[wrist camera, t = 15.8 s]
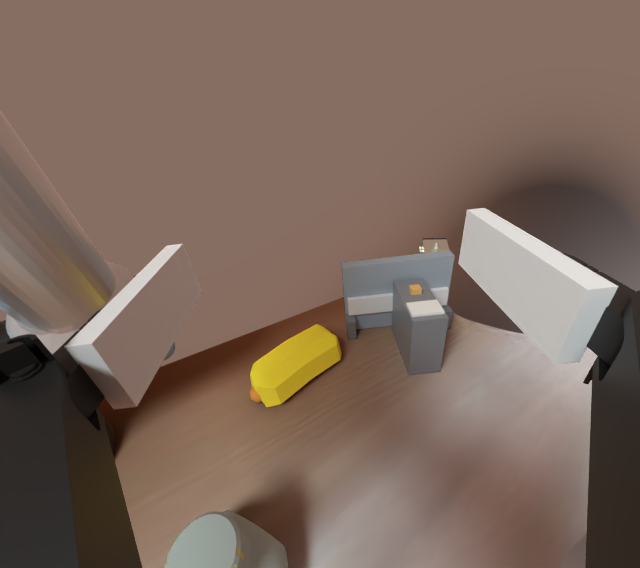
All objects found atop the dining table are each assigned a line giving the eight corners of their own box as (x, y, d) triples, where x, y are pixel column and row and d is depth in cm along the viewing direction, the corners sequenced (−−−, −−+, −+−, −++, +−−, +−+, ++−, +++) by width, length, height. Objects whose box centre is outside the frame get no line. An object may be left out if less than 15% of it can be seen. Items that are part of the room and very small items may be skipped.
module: (408, 375, 46) (413, 316, 40) (392, 329, 55) (393, 276, 49) (440, 372, 46) (449, 312, 40) (418, 326, 55) (422, 272, 49)
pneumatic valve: (439, 278, 68) (445, 230, 62) (445, 308, 59) (453, 255, 53) (415, 277, 70) (418, 231, 64) (417, 306, 60) (421, 255, 54)
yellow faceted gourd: (242, 391, 47) (266, 423, 42) (230, 363, 44) (255, 393, 38) (325, 336, 56) (353, 356, 51) (321, 308, 53) (351, 327, 47)
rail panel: (348, 339, 54) (343, 275, 47) (346, 323, 58) (341, 262, 51) (450, 328, 54) (461, 262, 46) (440, 313, 58) (449, 250, 50)
